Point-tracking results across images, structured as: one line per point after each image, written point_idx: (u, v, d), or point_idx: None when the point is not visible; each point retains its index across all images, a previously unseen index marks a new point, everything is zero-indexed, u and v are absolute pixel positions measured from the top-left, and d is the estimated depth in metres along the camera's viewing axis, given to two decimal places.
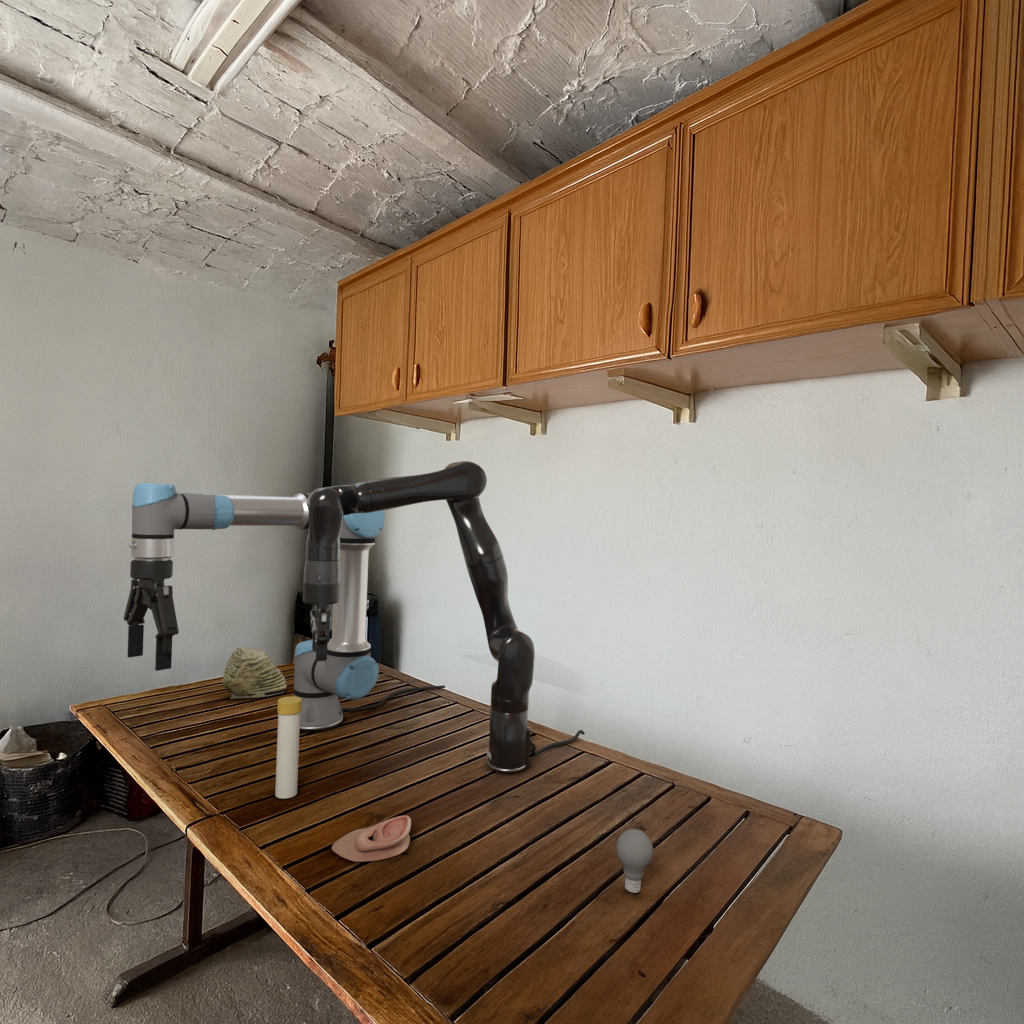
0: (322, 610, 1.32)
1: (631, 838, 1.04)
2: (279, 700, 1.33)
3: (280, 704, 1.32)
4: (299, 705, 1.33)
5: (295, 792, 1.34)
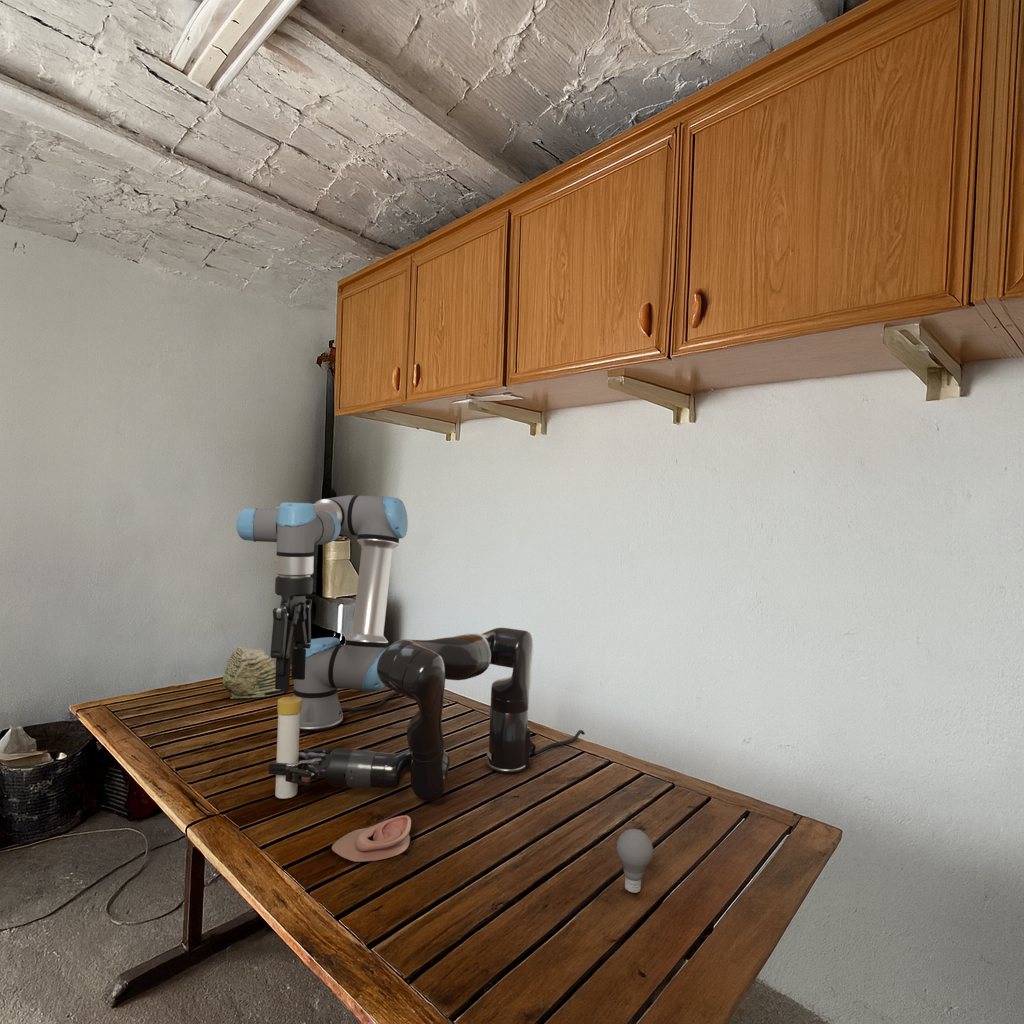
0: None
1: (631, 838, 1.04)
2: (279, 700, 1.33)
3: (280, 704, 1.32)
4: (299, 705, 1.33)
5: (295, 792, 1.34)
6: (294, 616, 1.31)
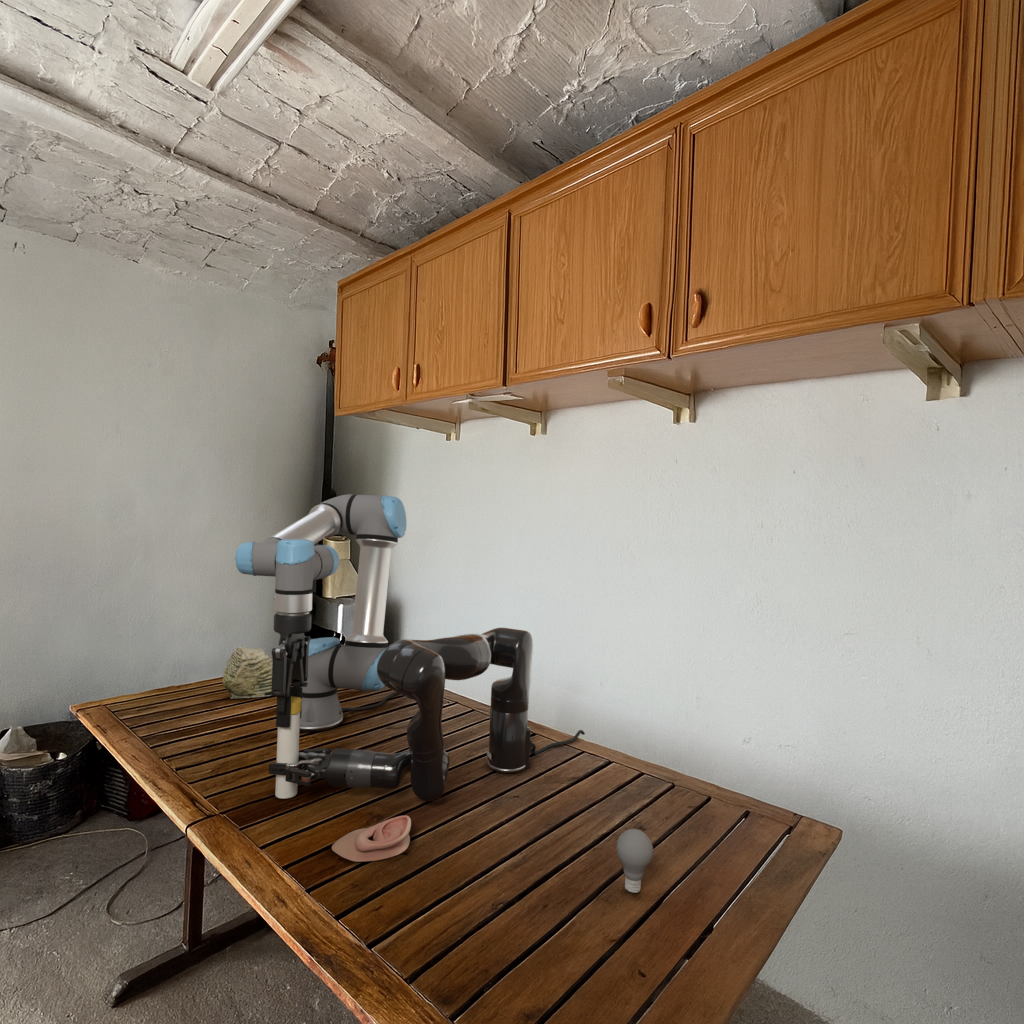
0: None
1: (631, 838, 1.04)
2: None
3: None
4: (299, 705, 1.33)
5: (295, 792, 1.34)
6: (293, 654, 1.31)
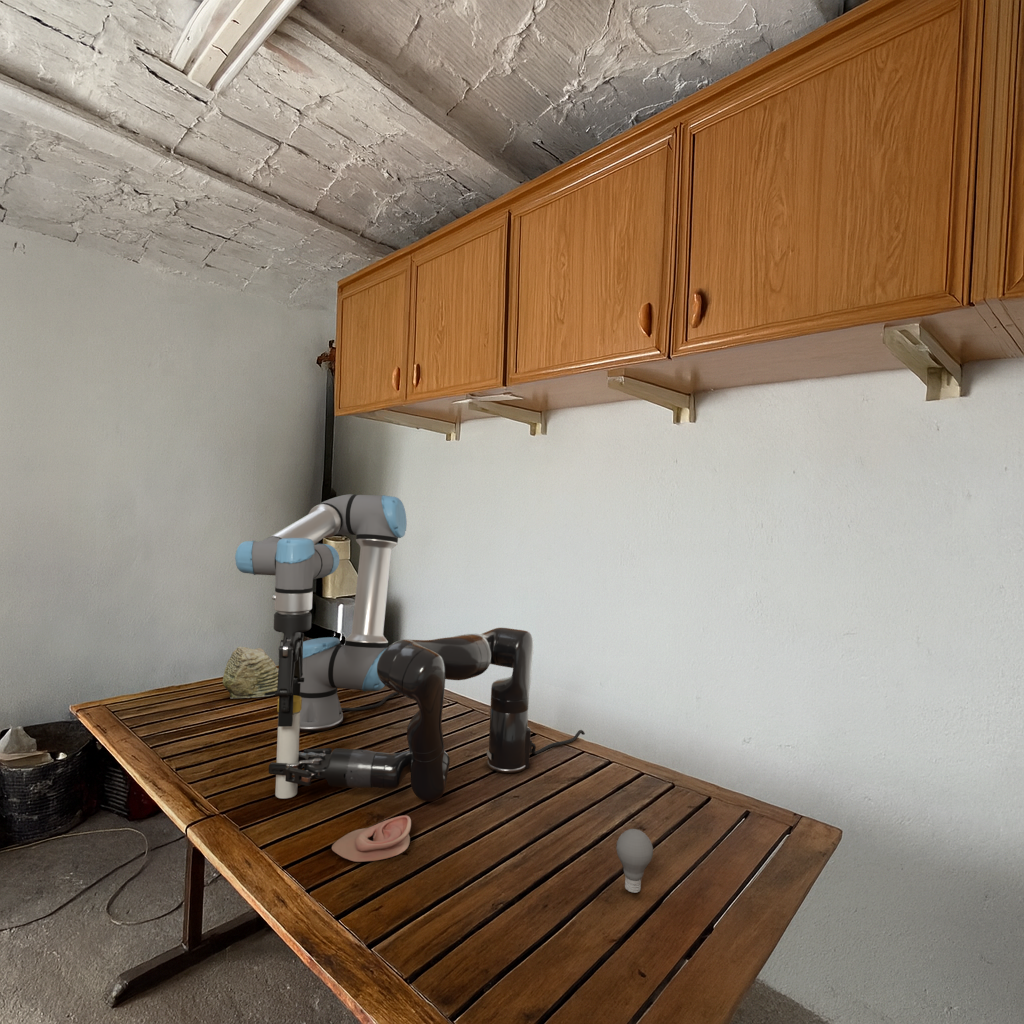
0: None
1: (631, 838, 1.04)
2: None
3: (296, 702, 1.33)
4: None
5: (295, 792, 1.34)
6: (296, 652, 1.32)
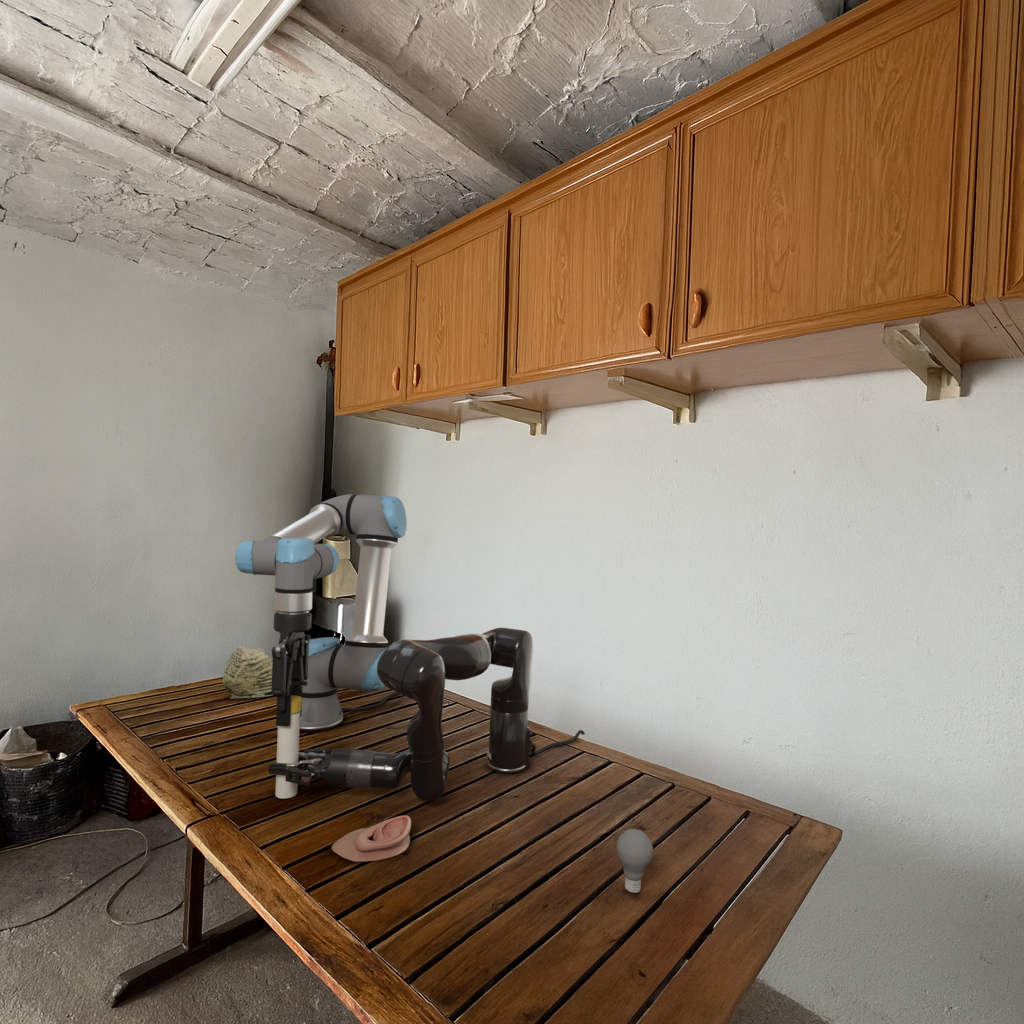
0: None
1: (631, 838, 1.04)
2: None
3: (296, 702, 1.33)
4: None
5: (295, 792, 1.34)
6: (293, 653, 1.31)
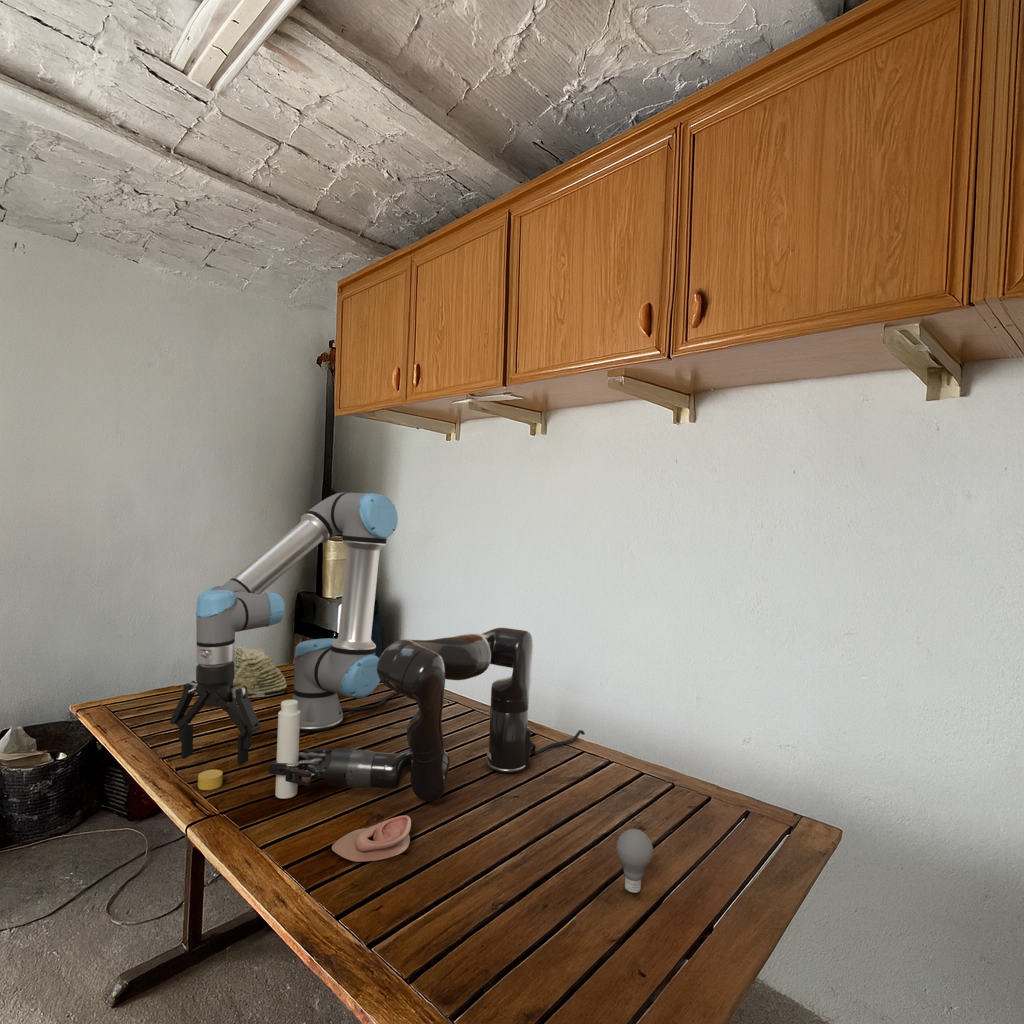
0: None
1: (631, 838, 1.04)
2: (220, 774, 1.37)
3: None
4: None
5: (295, 792, 1.34)
6: (232, 696, 1.38)
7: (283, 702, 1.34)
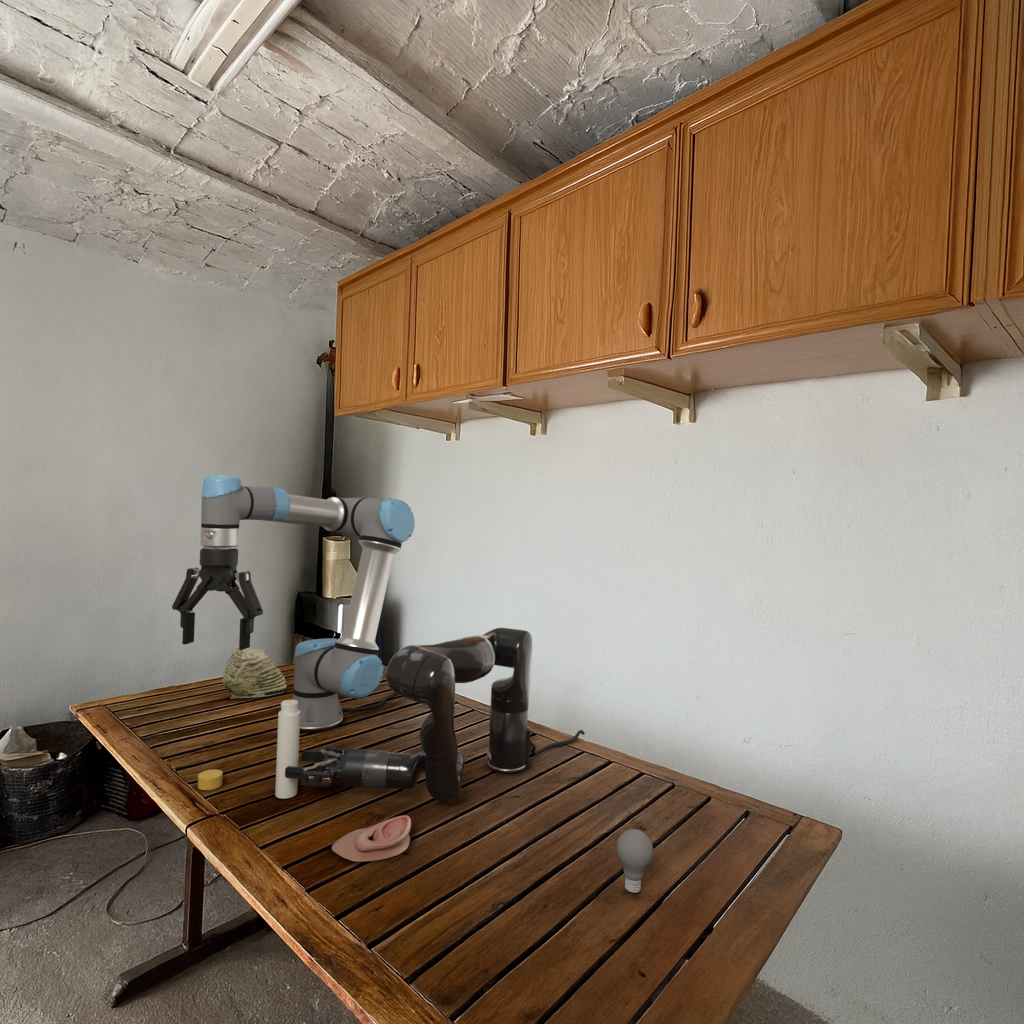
0: None
1: (631, 838, 1.04)
2: (220, 774, 1.37)
3: None
4: None
5: (295, 792, 1.34)
6: (235, 582, 1.37)
7: (283, 702, 1.34)
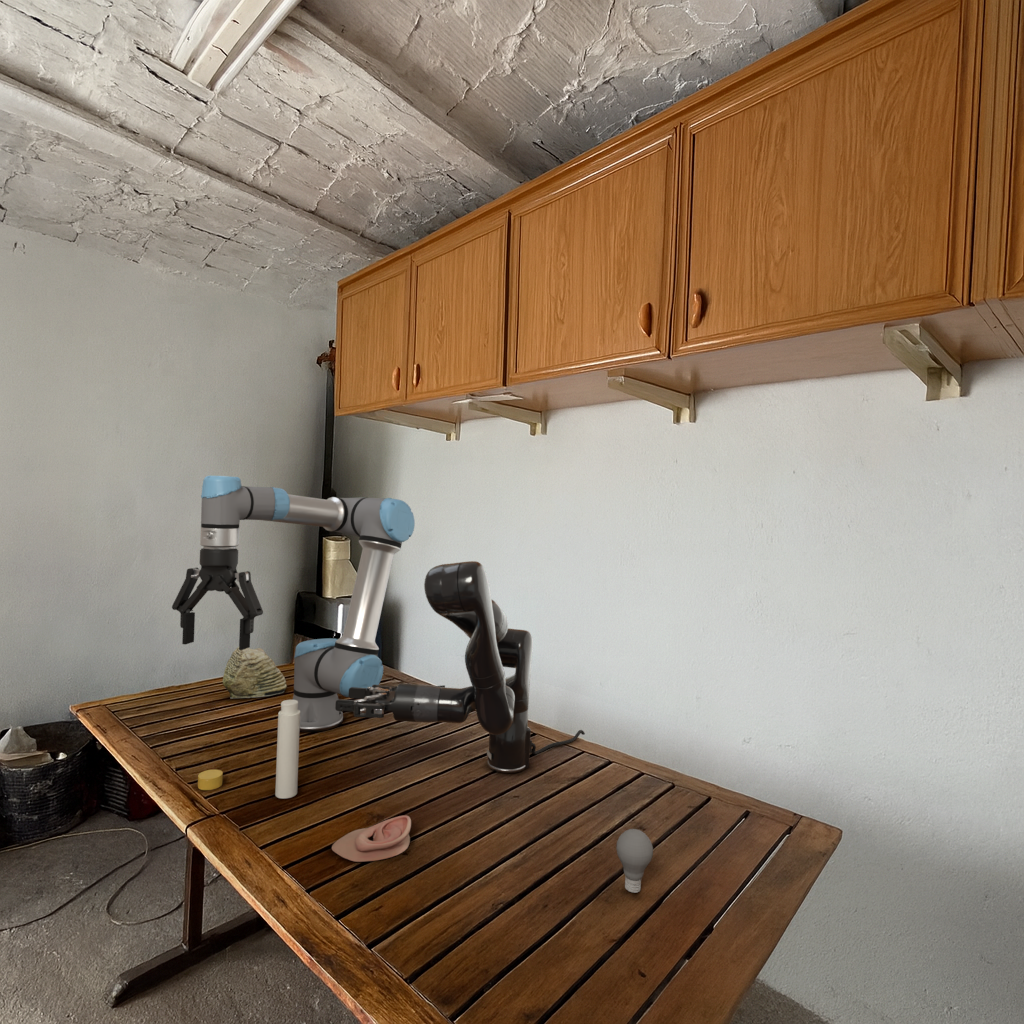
0: None
1: (631, 838, 1.04)
2: (220, 774, 1.37)
3: None
4: None
5: (295, 792, 1.34)
6: (235, 582, 1.37)
7: (283, 702, 1.34)
